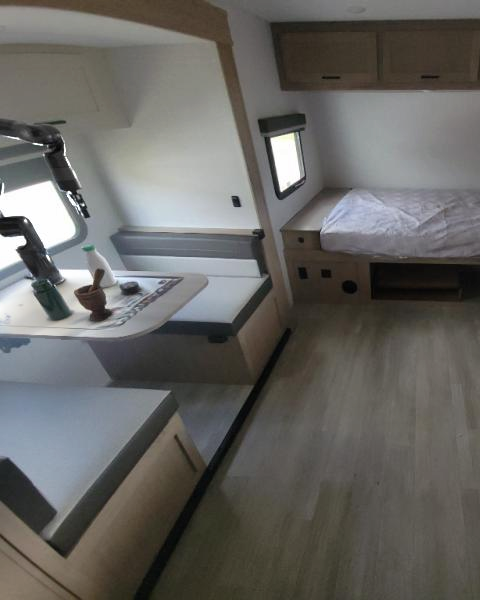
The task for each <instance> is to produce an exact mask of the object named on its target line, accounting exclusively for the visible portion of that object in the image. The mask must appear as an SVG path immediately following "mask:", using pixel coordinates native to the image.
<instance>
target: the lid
mask: <svg viewBox="0 0 480 600" xmlns="http://www.w3.org/2000/svg"><path fill="white" fill-rule="evenodd" d="M119 289H120V291H121V293H122V295H124V296H131V295H135V294H137V293H139V292H140V291H141V289H142V288H141V286H140V285H139V282H138V281H128V282H124V283H122V284H121V285H119Z"/></svg>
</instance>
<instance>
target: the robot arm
mask: <svg viewBox="0 0 480 600" xmlns="http://www.w3.org/2000/svg"><path fill="white" fill-rule="evenodd" d="M0 137H4V138H8V139H13V140H20V141H23V142H26V143H29V144H32V145H37V146H38V145H39V146H46V148H47V150H45V151H43V153H42V157H43V159H44V162H45V163H46V165H47V167H48V169H49V172H50V174H51V177H52V179H53V180H54V183H55V184H56V187H57V188H58V190H59V191H60V192H65V193H66V195H67V197H68V199H69V201H70V203H71V204H72V205H73V206H74V208H75V209H76V212H77V214H78V215H82V217H83V218H84V219H89V218H91V215H90V213H89V211H88V205H87V204H86V201H85V200H84V198H83V195H82V193H80V192H78V191H79V190H82V189H83V185H82V182H80V179H79V177H78V175H77V172H76V171H75V169H74V168H73V166H72V164H71V162H70V160H69V158H68V156H67V149H66V144H65V140H64V136H63V134H62V133H61V131H60V130H59V129H58V128H57V127H56V126H55V125H53V124H50V123H40V124H29V123H26V122H25V121H22V120H18V119H12V118H7V117H0ZM4 189H5V184H4V182H3V179H2V177H0V236H1V237H3V238H7V239H8V238H9V239H10V238H22V237H24V238H23V239H24V240H25V241H23V242H20V243H18V244H16V245H15V246H14V251H16V253H17V255H18V256H19V258H20V259H21V261H22V262H23V264H24V266H25V267H26V269H27V270H28V272H29V273H30V276H29V275H27V274H25V275H24V277H25V278H28V279H33V280H34V282H35V281H38V280H43V279H47V280H49V281H50V283H51V285H55V286H57V285H59V284H60V283H62V282H64V281H65V278H64V276H63V275H62V273H61V270H60V269H59V268H58V266H57V265H56V264H55V261H54V260H53V258H52V257H51V255H50V253H49V252H48V250H47V248H46V247H45V245H44V241H43V239H42V237H41V235H40V233H39V231H38V230H37V227H36V226H35V224H34V222H33V221H32V220H31V217H28V216H27V215H25V214H24V215H23V214H18V215H17V214H15V215H6V214H5V212H4V210H3V207H2V198H3V197H2V196H3V194H4Z"/></svg>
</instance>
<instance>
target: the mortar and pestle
mask: <svg viewBox="0 0 480 600" xmlns="http://www.w3.org/2000/svg"><path fill="white" fill-rule="evenodd" d="M104 273H105V270H104V269H100V268H97V269H96V271H95V274H94V279H92V280H93V282H92V284H87V285H83V286H81V287H78V288H76V289H74V291H73V294H74V295H75V297H76V299H77V301H78V302H79V304H80V305H81V306H82V308H84V309H85V310H86V311H87V310H88V311H90V312H91V313H90V314H89V319H90V321H95V322H96V321H97V322H98V321H103V320H105V319H107V318H109V317H111V316H112V315H113V311H112V310H111V309H110V308H106V305H107V304H108V301H107V296H106V293H105V291H104V289H103V288H102V286H101V285H100V282H101V280H102V278H103V276H104Z"/></svg>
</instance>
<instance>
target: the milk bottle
mask: <svg viewBox="0 0 480 600" xmlns="http://www.w3.org/2000/svg"><path fill="white" fill-rule="evenodd" d="M81 249H82V252H83V253H84V254H85V266H86V268H87V269H88V272H89V274H90V275H91V277H92V280H94V274H95V271H96V269H97V268H100V269H104V270H105V273H104V276H103V278H102V280H101V282H100V285H101V286H102V289H103V288H109V287H112V286H114V285H116V284H117V278H116V275H115V274H114V272H113V270H112V269H111V266H110V264H109V263H108V261H107V259H106V258H105V257H104V256H103V255H101V254H100V253H99V252H98V251H97V247H96V245H94V244H86V245H82V246H81Z"/></svg>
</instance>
